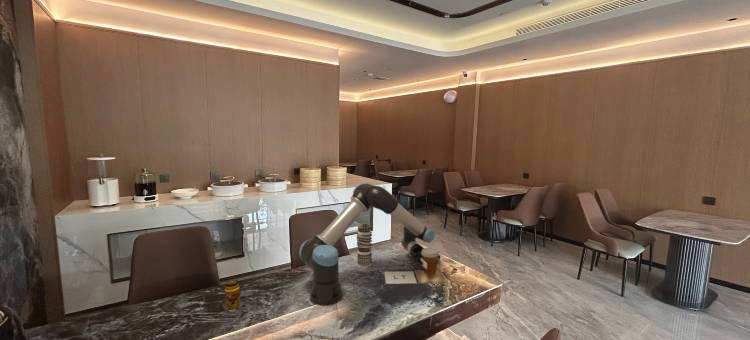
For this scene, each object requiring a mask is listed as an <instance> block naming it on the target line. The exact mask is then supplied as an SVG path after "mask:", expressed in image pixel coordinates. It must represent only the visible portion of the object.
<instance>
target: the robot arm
mask: <svg viewBox="0 0 750 340" xmlns="http://www.w3.org/2000/svg"><path fill="white" fill-rule="evenodd" d="M371 208H373V209H377V210H379V211H382V212H383V213H385V214H386V215H390V216H391V217H393V219H395V220H396V221H397V222H399V223H400V224H401V225H402V226H403V237H402V239H401V241H400V242H401V243H400V244H401V246H402V248H403V249H405V251H407V252H408V253H409V258H410V259H411V260H412V262H413V264H417V265H418V266H422V268H423V267H425V268H426V269H427V263H426V262H425V261H424V260H423V259H422V254H421V252H422V249H425V248H424V247H423V246H422V245H421V244H420V243H419V242H417V241H416V240H417V239H418V240H421V241H423V242H426V243H431V242H432V241H433V240H434V238H435V231H434V230H433V229H430V228H428V227H426V226H425V225H424V224H423V223H422V222H421V221H419V220H418V219H417V218H416V217H415V216H414V215H413V214H412V213H411V212H409V211H408V210H407V209H406V208H404V207H403V206H402V205H401V204H400V203H399V199H397V198H396V197H395V196H394V195H393V194H391V192H389V191H388V190H387V189H385V188H384V187H382V186H379V185H374V184H370V183H367V182H366V183H364V182H363V183H359V184H357V185H356V186H355V187H354V189H353V192H352V196H351V197H350V202H349V203H348V204H347V205H346V206H345V207H344V208H343V209H342V211H341V212H340V213H339V214H338V215H337V216H336V217H335V218H334V219H333V220H332V221H331V223H330V224H329V225H328V226H327V227H326V228H325V229H324V230H323V231H322V232H321V233H320V234H315V235H314V237H313V238H312V239H307V240H305V241H304V242H303V243H302V244H301V245H300V248H299V251H298V252H299V258H300V260H301V261H302V263H303V264H304V265H305V266H307V267H308V268H310V269H311V270H312V272H313V275H312V276H313V282H312V286H311V290H310V291H309V292H310V293H309V297H310V298H309V300H310V301H311V303H313V304H315V305H319V306H329V305H333V304H336V303H338V302H340V301H341V300H342V298H343V289H342V286H341V283H340V280H339V275H340V274H339V259H340V258H339V257H340V256H339V251H338V249H337V248H336V247H335V246H334V245H335V244H336V243H337V241H338V240H340V238H341V237H342V236H343V235H344V234H345V233H346V232H347V230H349V228H350V227H351V226H352V225H353V224H354V222H355V221H356V220H357V219H358V218H359V217H360V216H361V215H362V213H367V212H368V211H369V210H370V209H371ZM437 266H440V267H443V261H442V259H441V255H440V254H439V256H438V261H437Z"/></svg>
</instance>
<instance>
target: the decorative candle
mask: <svg viewBox="0 0 750 340" xmlns="http://www.w3.org/2000/svg"><path fill="white" fill-rule="evenodd" d="M371 227H372V225H371V224H370V223H369V222H366V221H365V222H363V221H361V222H360V223H359V224H358V225H357V233H356V246H357V259H356V260H357V261H356V262H357V266H358V267H359V268H369V267H371V266H372V263H373V261H372V255H373V253H372V245H373V244H372V239H373V238H372V237H373V232H372V229H371Z"/></svg>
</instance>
